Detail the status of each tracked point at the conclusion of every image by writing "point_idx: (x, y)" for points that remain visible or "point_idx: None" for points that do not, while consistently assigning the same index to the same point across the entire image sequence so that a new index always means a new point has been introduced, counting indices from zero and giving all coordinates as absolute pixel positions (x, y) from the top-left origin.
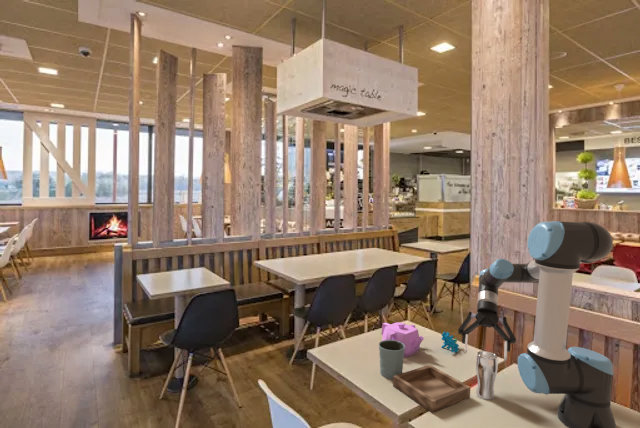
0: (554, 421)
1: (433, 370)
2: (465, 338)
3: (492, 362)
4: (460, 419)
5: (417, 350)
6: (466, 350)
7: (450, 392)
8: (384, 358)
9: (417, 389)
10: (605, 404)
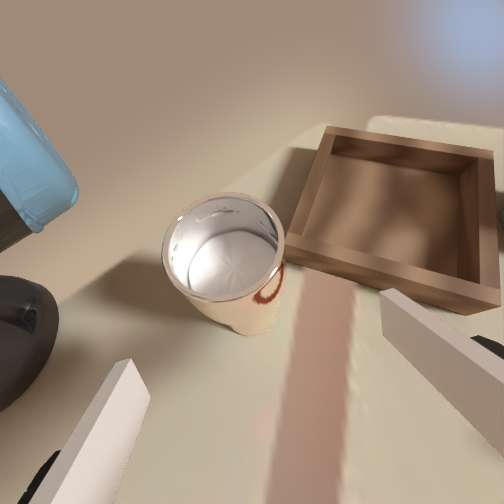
0: (74, 297)
1: (451, 279)
2: (491, 352)
3: (191, 219)
4: (267, 168)
5: None
6: (380, 292)
7: (315, 180)
8: None
9: (388, 141)
10: None
